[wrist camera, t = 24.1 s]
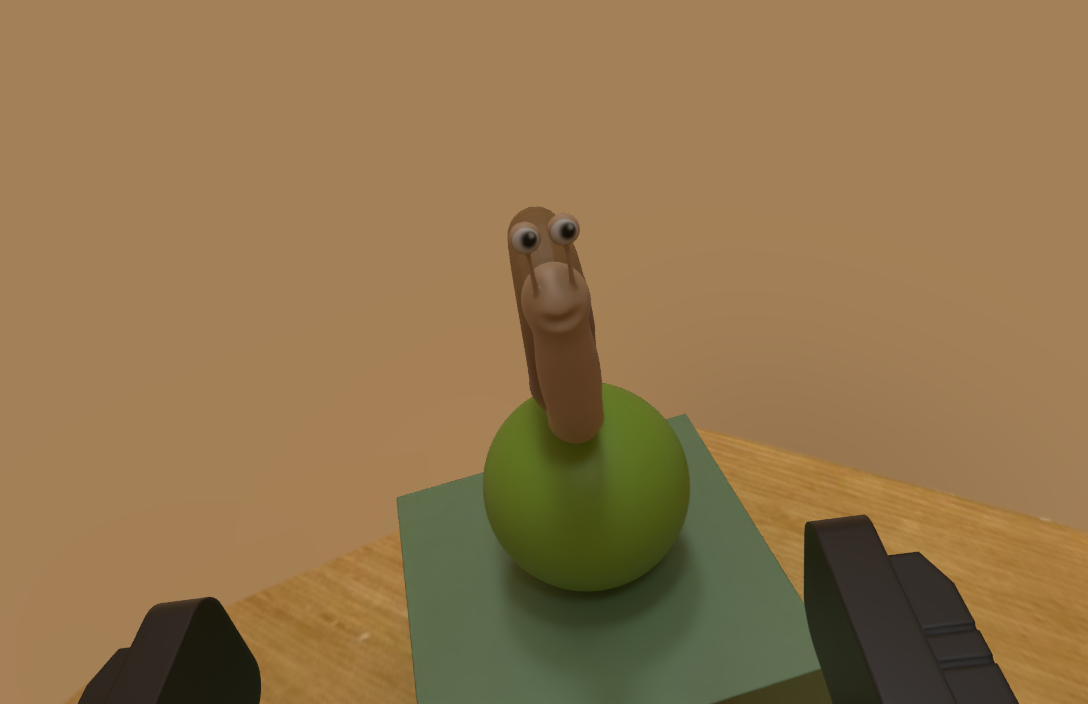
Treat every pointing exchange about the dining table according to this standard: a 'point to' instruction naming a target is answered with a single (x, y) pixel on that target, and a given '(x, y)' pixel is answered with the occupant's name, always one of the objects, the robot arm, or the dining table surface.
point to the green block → (605, 611)
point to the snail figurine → (577, 436)
